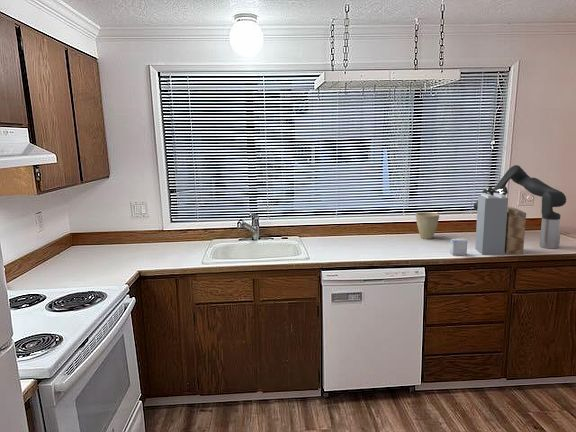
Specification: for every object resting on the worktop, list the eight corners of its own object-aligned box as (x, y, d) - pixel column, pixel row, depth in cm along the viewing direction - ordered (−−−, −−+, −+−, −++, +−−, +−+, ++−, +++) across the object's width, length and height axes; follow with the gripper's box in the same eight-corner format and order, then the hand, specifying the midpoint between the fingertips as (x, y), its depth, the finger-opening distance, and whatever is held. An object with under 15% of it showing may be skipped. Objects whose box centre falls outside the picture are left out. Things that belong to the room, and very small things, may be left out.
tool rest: (513, 248, 255) (516, 209, 251) (522, 254, 243) (526, 213, 238) (497, 248, 256) (500, 209, 252) (506, 254, 244) (509, 213, 239)
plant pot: (443, 239, 281) (444, 215, 278) (422, 241, 278) (423, 216, 275) (430, 234, 295) (431, 211, 292) (410, 236, 292) (411, 212, 289)
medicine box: (463, 253, 248) (464, 238, 246) (466, 255, 243) (467, 240, 242) (449, 253, 248) (450, 238, 246) (452, 255, 243) (453, 240, 242)
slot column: (496, 249, 254) (500, 192, 248) (504, 254, 243) (508, 195, 237) (475, 248, 256) (478, 192, 250) (482, 254, 244) (485, 195, 238)
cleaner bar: (506, 210, 258) (507, 204, 258) (525, 218, 233) (526, 212, 232) (500, 210, 259) (501, 204, 258) (518, 218, 233) (519, 212, 233)
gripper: (477, 193, 283) (485, 182, 268) (500, 193, 282) (509, 182, 267) (479, 203, 280) (487, 193, 265) (501, 203, 279) (511, 193, 264)
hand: (498, 188), depth 266 cm, fingers open, 8 cm apart
